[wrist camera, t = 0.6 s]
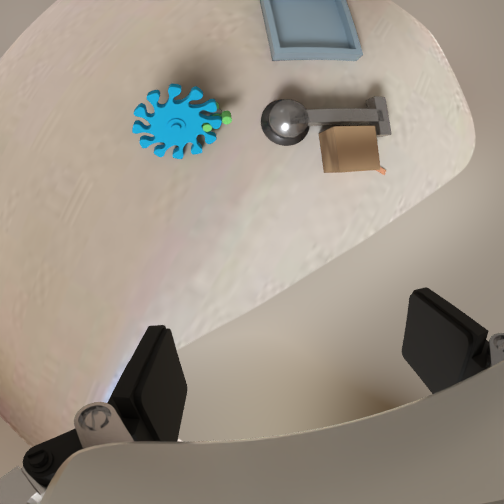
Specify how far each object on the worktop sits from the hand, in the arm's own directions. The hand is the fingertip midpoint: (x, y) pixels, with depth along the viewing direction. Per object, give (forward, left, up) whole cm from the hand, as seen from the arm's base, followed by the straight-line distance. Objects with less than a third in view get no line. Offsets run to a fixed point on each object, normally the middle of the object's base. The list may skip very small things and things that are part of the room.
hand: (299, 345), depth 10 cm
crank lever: (-12, +11, -26) cm, 30 cm away
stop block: (-8, +12, -26) cm, 30 cm away
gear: (-13, -7, -27) cm, 30 cm away
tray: (-27, +11, -26) cm, 39 cm away
